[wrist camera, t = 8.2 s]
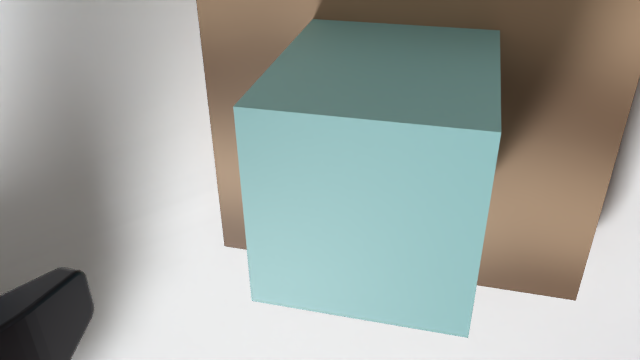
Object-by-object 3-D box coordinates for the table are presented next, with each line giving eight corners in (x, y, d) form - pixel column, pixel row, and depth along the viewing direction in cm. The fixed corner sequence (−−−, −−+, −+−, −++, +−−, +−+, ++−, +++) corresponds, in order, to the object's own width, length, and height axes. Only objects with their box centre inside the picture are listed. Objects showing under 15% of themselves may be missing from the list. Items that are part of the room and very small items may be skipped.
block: (476, 193, 18) (468, 337, 13) (315, 174, 19) (251, 300, 14) (500, 30, 15) (501, 132, 10) (312, 18, 16) (232, 106, 11)
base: (568, 252, 21) (575, 300, 19) (248, 208, 24) (224, 246, 22) (667, -128, 15) (695, -119, 13) (219, -132, 17) (182, -124, 15)
